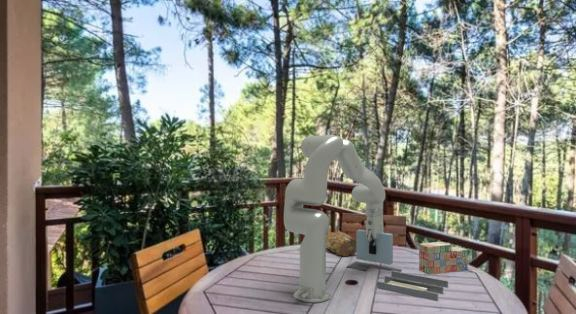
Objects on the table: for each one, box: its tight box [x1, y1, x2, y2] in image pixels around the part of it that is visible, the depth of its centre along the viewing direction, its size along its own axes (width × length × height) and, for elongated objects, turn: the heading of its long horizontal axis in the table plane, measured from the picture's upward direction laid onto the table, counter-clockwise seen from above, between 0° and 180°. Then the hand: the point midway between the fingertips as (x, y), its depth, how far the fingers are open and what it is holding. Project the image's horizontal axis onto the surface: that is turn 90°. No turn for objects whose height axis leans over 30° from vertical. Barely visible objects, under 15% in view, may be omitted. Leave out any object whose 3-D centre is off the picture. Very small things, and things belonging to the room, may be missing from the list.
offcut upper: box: [387, 281, 428, 292], centre depth 144 cm, size 4×14×2 cm, turn 55°
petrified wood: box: [326, 230, 356, 257], centre depth 201 cm, size 19×13×10 cm
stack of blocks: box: [418, 241, 469, 275], centre depth 171 cm, size 21×6×12 cm, turn 108°
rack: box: [376, 270, 449, 302], centre depth 147 cm, size 17×22×3 cm
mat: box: [346, 261, 403, 273], centre depth 172 cm, size 10×22×1 cm, turn 56°
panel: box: [355, 229, 394, 266], centre depth 172 cm, size 3×16×13 cm, turn 56°
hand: (374, 252), depth 172 cm, fingers closed on panel, 3 cm apart
